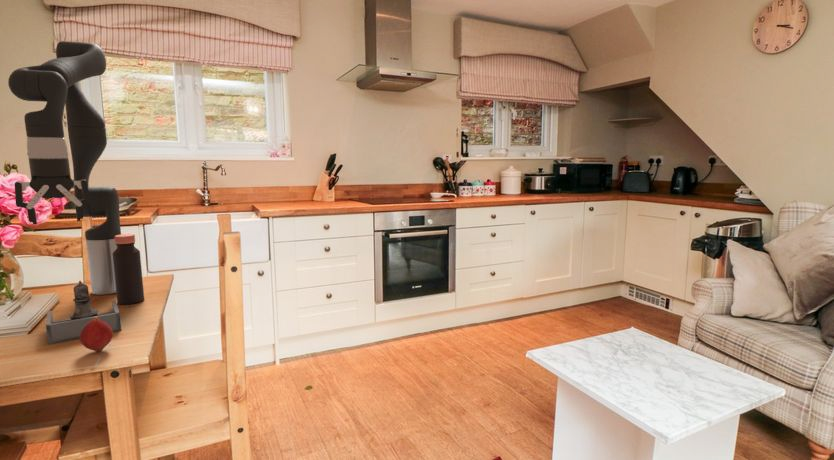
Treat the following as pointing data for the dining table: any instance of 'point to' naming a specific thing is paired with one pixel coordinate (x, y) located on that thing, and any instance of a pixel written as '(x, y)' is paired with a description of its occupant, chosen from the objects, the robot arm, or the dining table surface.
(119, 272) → the bottle
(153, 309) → the dining table surface
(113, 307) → the box
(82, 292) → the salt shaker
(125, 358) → the dining table surface
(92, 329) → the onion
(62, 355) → the dining table surface
